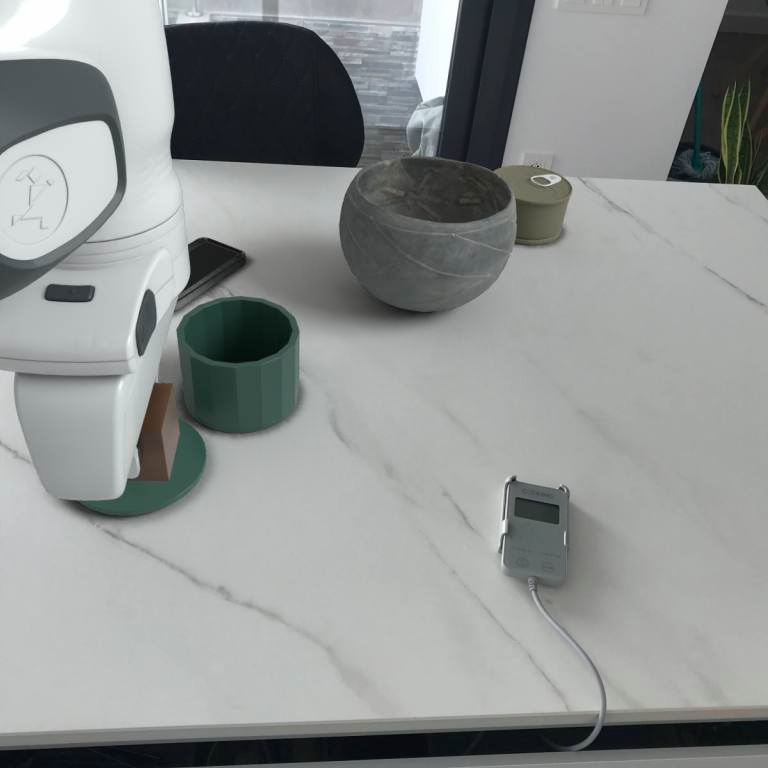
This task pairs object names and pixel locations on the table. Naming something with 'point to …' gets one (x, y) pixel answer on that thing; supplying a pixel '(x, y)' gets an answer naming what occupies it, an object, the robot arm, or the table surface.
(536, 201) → the can
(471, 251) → the bowl
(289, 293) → the table surface
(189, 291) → the phone
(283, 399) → the tin
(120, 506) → the tin lid
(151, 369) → the robot arm
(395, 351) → the table surface
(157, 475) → the block
